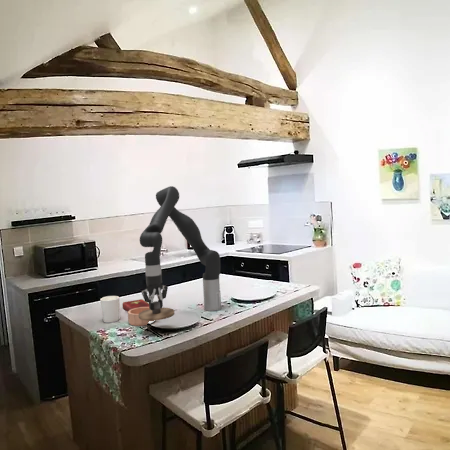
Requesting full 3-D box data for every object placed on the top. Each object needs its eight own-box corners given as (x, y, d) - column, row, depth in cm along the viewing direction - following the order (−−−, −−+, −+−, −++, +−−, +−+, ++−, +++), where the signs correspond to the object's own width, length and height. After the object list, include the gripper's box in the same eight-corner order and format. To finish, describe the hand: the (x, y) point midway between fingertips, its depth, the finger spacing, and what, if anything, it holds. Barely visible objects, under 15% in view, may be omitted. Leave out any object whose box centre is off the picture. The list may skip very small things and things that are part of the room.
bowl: (159, 317, 237) (158, 306, 236) (152, 325, 223) (151, 314, 222) (133, 318, 238) (132, 307, 237) (125, 326, 224) (124, 314, 224)
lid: (177, 309, 222) (176, 297, 221) (170, 319, 205) (169, 306, 204) (143, 310, 223) (142, 298, 222) (134, 321, 206) (133, 308, 205)
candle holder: (122, 317, 241) (121, 295, 240) (118, 322, 231) (117, 300, 230) (104, 318, 241) (102, 296, 240) (99, 323, 231) (98, 301, 230)
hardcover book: (132, 317, 241) (132, 309, 241) (122, 308, 260) (122, 301, 259) (154, 313, 247) (153, 306, 246) (142, 305, 265) (142, 298, 265)
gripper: (162, 270, 219) (164, 304, 221) (136, 275, 210) (139, 311, 212) (170, 272, 214) (172, 307, 215) (144, 277, 205) (147, 313, 206)
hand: (156, 308), depth 214 cm, fingers closed on lid, 4 cm apart
